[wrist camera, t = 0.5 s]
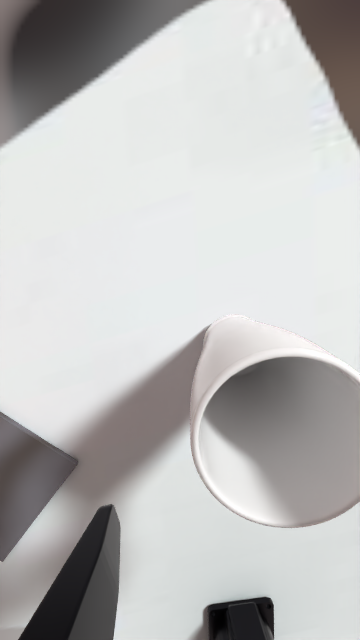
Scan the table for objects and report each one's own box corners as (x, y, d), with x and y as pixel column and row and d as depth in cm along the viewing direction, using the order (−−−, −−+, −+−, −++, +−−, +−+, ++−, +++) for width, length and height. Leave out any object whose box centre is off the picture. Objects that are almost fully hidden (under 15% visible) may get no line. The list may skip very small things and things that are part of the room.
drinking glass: (277, 373, 24) (403, 521, 9) (202, 385, 25) (206, 542, 10) (265, 298, 23) (383, 329, 8) (188, 312, 24) (170, 365, 9)
